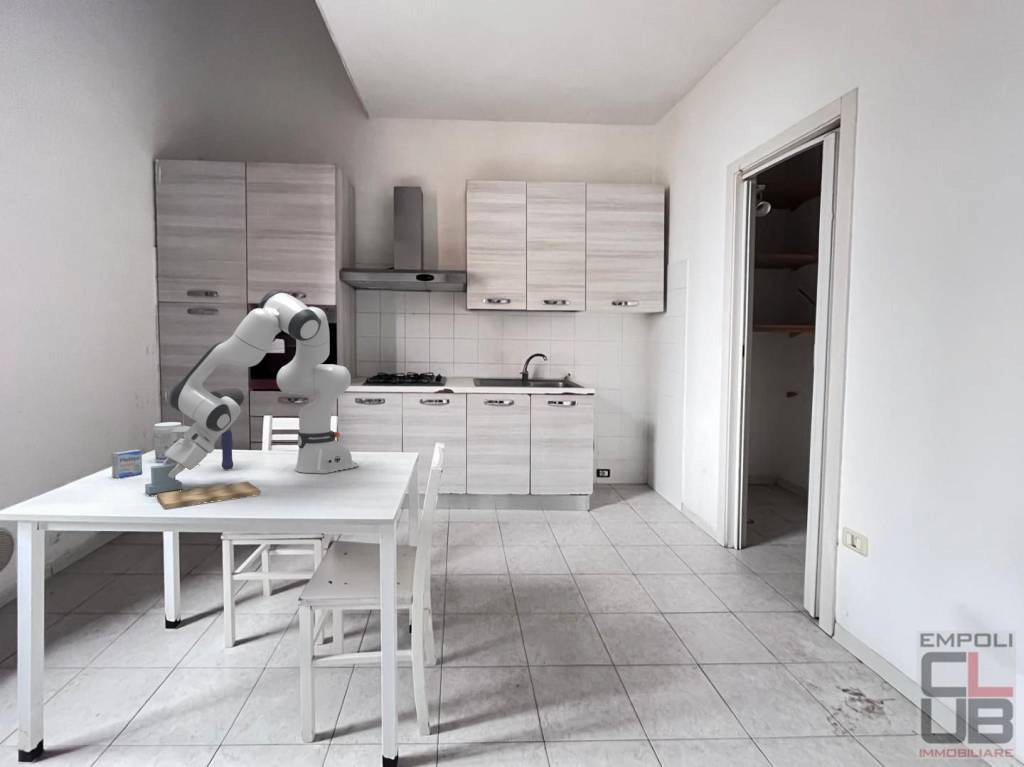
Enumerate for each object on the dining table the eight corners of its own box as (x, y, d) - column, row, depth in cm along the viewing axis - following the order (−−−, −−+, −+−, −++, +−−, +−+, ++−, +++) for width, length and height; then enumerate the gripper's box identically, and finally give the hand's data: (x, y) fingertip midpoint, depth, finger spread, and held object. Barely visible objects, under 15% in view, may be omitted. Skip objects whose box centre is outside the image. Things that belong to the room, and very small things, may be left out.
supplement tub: (175, 457, 240) (173, 421, 239) (188, 460, 235) (187, 423, 234) (150, 461, 232) (148, 424, 230) (163, 464, 227) (162, 426, 225)
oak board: (247, 485, 197) (247, 481, 196) (260, 494, 186) (260, 490, 186) (156, 498, 180) (156, 493, 180) (165, 509, 169) (165, 504, 169)
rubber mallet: (225, 474, 213) (223, 390, 210) (206, 472, 214) (204, 389, 212) (247, 466, 225) (245, 387, 223) (229, 465, 226) (227, 386, 224)
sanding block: (177, 488, 192) (176, 462, 192) (182, 491, 189) (181, 465, 188) (145, 493, 186) (144, 466, 186) (149, 496, 183) (148, 469, 182)
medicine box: (118, 479, 204) (117, 453, 203) (112, 477, 206) (111, 452, 206) (142, 474, 211) (141, 450, 210) (136, 472, 213) (135, 448, 212)
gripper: (180, 430, 199) (147, 463, 193) (200, 437, 184) (166, 473, 178) (195, 441, 202) (163, 474, 196) (216, 450, 188) (183, 485, 182)
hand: (165, 474), depth 187 cm, fingers open, 8 cm apart
